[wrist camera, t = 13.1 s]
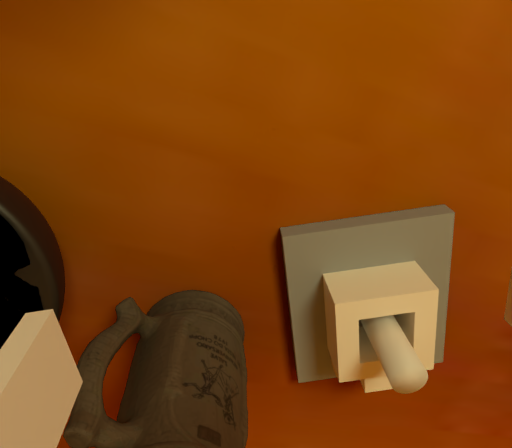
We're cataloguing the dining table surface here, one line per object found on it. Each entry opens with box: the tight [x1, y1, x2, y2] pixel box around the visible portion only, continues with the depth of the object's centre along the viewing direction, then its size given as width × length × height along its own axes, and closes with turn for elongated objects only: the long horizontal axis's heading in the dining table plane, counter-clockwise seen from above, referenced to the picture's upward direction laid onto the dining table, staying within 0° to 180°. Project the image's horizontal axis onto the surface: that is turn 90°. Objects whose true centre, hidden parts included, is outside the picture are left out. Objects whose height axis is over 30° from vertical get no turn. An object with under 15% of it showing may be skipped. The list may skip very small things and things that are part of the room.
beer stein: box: [63, 290, 248, 448], centre depth 35 cm, size 15×11×20 cm
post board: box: [280, 204, 455, 394], centre depth 39 cm, size 18×16×12 cm
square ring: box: [323, 261, 439, 393], centre depth 41 cm, size 13×9×5 cm
